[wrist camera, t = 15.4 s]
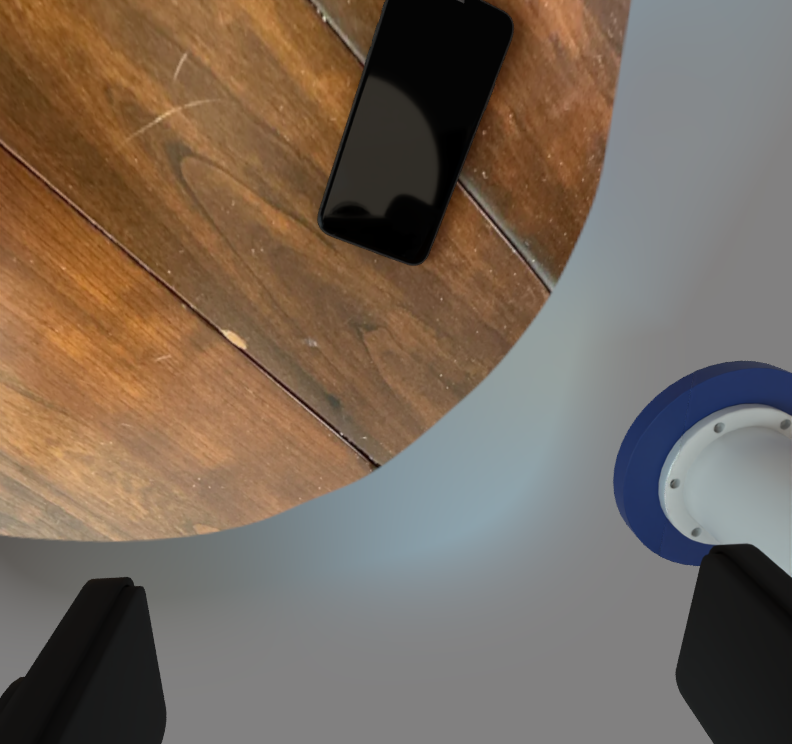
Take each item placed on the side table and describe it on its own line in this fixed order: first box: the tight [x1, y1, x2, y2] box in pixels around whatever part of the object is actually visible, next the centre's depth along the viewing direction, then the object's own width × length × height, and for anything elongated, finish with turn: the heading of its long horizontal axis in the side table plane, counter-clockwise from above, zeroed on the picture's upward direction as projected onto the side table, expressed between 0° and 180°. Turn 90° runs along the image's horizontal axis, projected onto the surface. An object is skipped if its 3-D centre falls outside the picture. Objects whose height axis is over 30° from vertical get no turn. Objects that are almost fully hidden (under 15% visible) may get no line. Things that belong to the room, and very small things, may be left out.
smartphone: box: [317, 0, 514, 266], centre depth 32 cm, size 7×1×15 cm
